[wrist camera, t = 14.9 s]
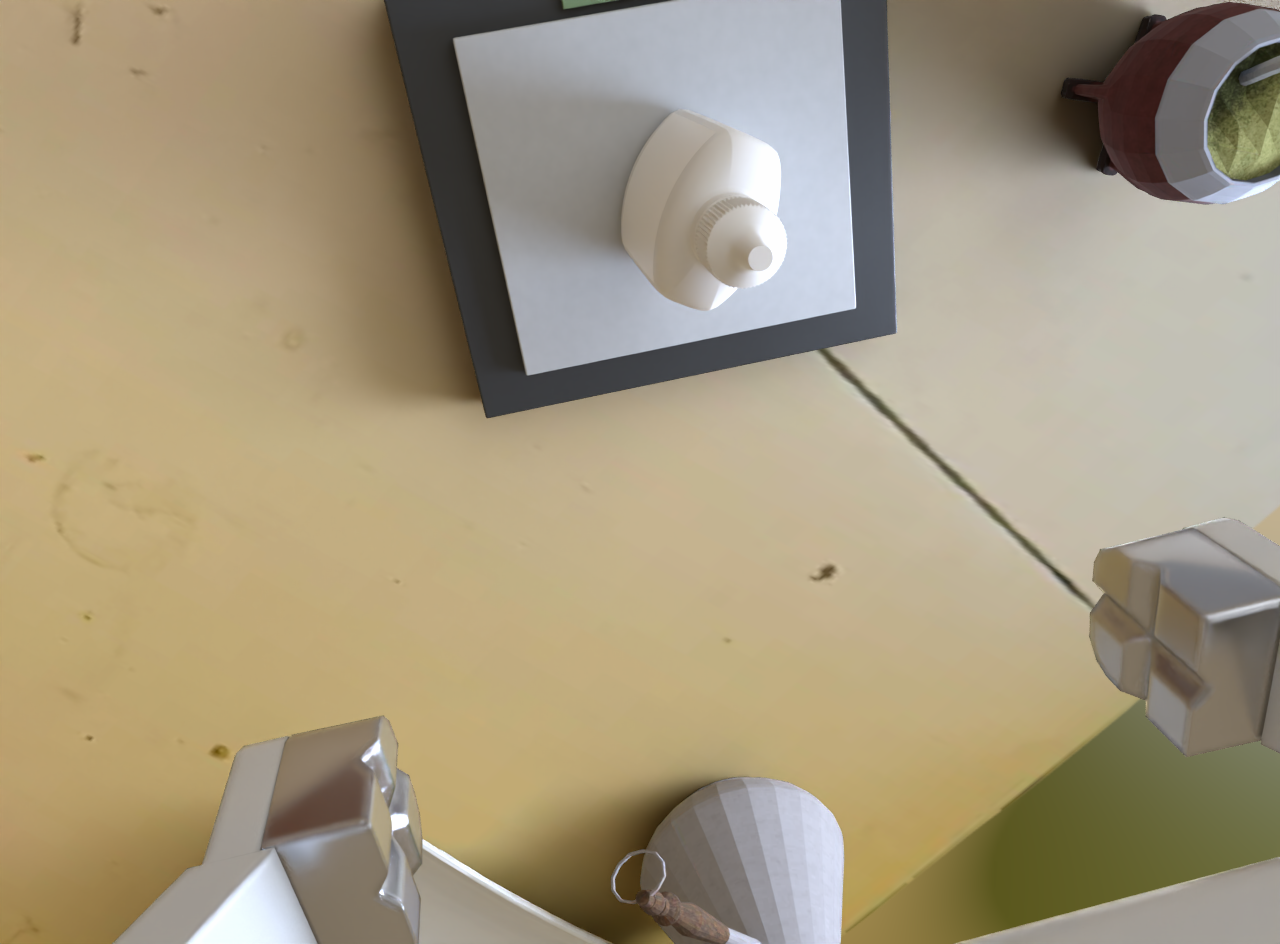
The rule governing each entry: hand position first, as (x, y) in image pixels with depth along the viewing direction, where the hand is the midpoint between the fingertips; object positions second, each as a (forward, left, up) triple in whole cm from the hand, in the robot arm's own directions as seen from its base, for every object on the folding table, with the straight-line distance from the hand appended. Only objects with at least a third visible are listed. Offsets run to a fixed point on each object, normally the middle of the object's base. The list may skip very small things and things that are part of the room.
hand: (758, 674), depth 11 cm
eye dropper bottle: (0, +5, -29) cm, 29 cm away
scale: (0, +5, -31) cm, 31 cm away
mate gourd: (0, +25, -31) cm, 40 cm away
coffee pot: (+32, +2, -31) cm, 45 cm away
